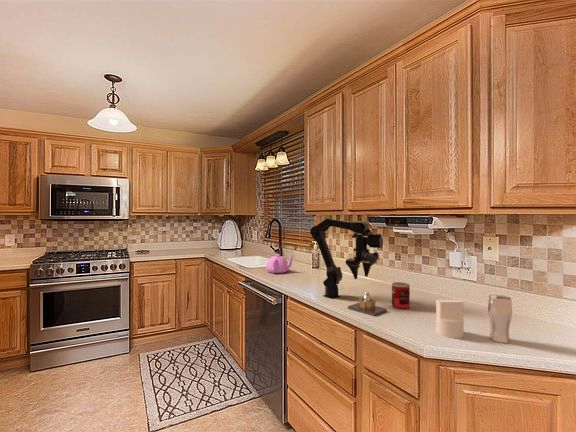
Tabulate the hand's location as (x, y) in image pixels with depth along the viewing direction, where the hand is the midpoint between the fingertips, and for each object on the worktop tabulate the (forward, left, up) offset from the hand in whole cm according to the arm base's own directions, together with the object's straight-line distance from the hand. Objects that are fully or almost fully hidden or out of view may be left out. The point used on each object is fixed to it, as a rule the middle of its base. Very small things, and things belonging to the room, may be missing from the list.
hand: (361, 277), depth 154 cm
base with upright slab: (+46, -11, -12) cm, 49 cm away
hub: (+10, -10, -11) cm, 18 cm away
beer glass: (+60, -4, -12) cm, 61 cm away
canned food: (+18, +6, -12) cm, 23 cm away
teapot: (-87, +21, -12) cm, 90 cm away
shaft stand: (+10, -10, -12) cm, 19 cm away
